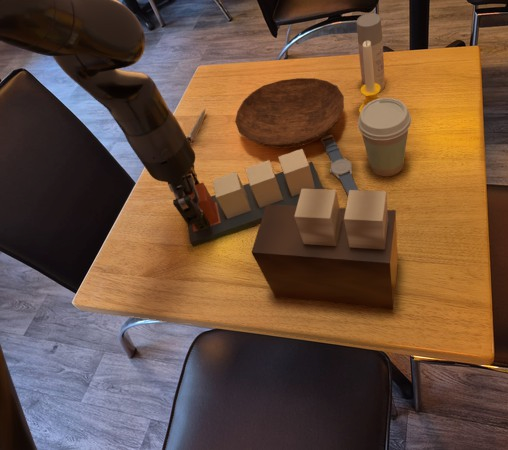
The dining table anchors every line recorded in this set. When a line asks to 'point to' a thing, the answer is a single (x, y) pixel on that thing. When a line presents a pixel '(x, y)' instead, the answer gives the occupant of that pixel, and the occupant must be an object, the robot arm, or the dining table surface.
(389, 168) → the coffee cup
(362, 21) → the container
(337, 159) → the wristwatch
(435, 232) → the dining table surface
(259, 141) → the bowl
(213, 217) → the red-brown rectangular block
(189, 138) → the knife
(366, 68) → the candle
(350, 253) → the stand
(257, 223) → the far board
